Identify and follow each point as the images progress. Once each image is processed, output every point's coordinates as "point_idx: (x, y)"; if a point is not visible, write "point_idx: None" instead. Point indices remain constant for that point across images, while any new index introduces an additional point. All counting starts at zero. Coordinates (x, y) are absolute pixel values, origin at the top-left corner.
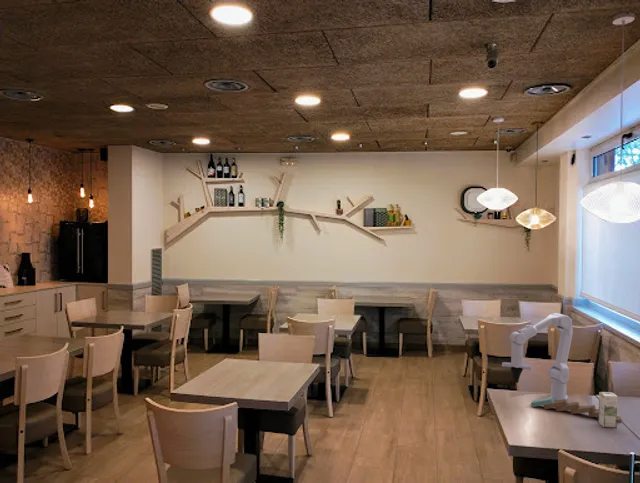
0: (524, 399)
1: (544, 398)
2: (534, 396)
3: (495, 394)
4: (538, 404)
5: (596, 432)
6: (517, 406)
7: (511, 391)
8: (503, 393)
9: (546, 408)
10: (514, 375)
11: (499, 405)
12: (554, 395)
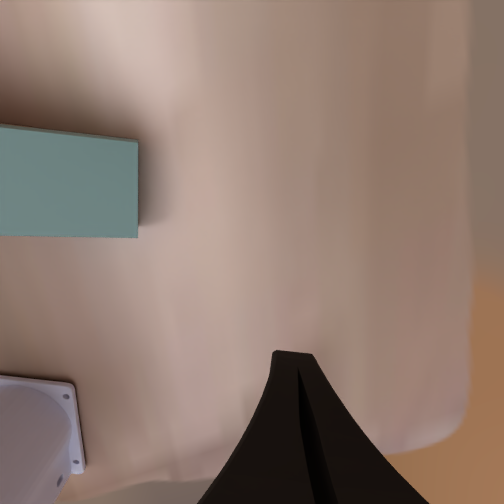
0: (225, 316)
1: (8, 228)
2: (172, 402)
3: (444, 346)
4: (64, 132)
5: None
6: (258, 94)
7: None
8: (381, 389)
9: (10, 124)
10: (350, 442)
11: (432, 35)
12: (24, 409)
